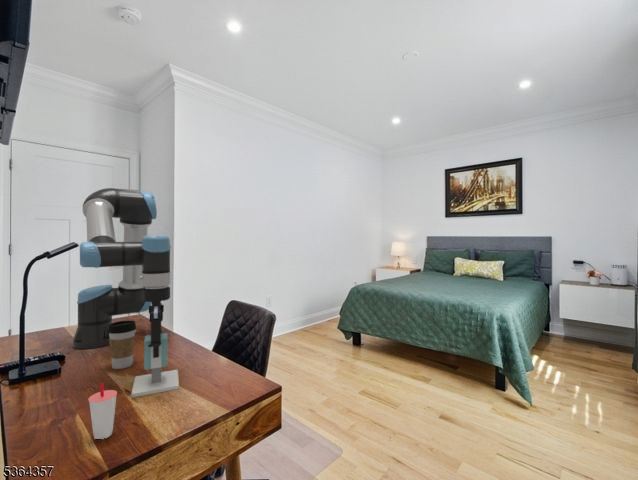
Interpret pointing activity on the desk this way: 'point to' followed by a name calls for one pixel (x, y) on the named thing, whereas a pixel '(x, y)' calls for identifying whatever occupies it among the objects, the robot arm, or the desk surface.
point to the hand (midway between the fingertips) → (156, 363)
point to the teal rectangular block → (148, 351)
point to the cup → (102, 412)
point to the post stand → (155, 382)
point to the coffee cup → (122, 343)
